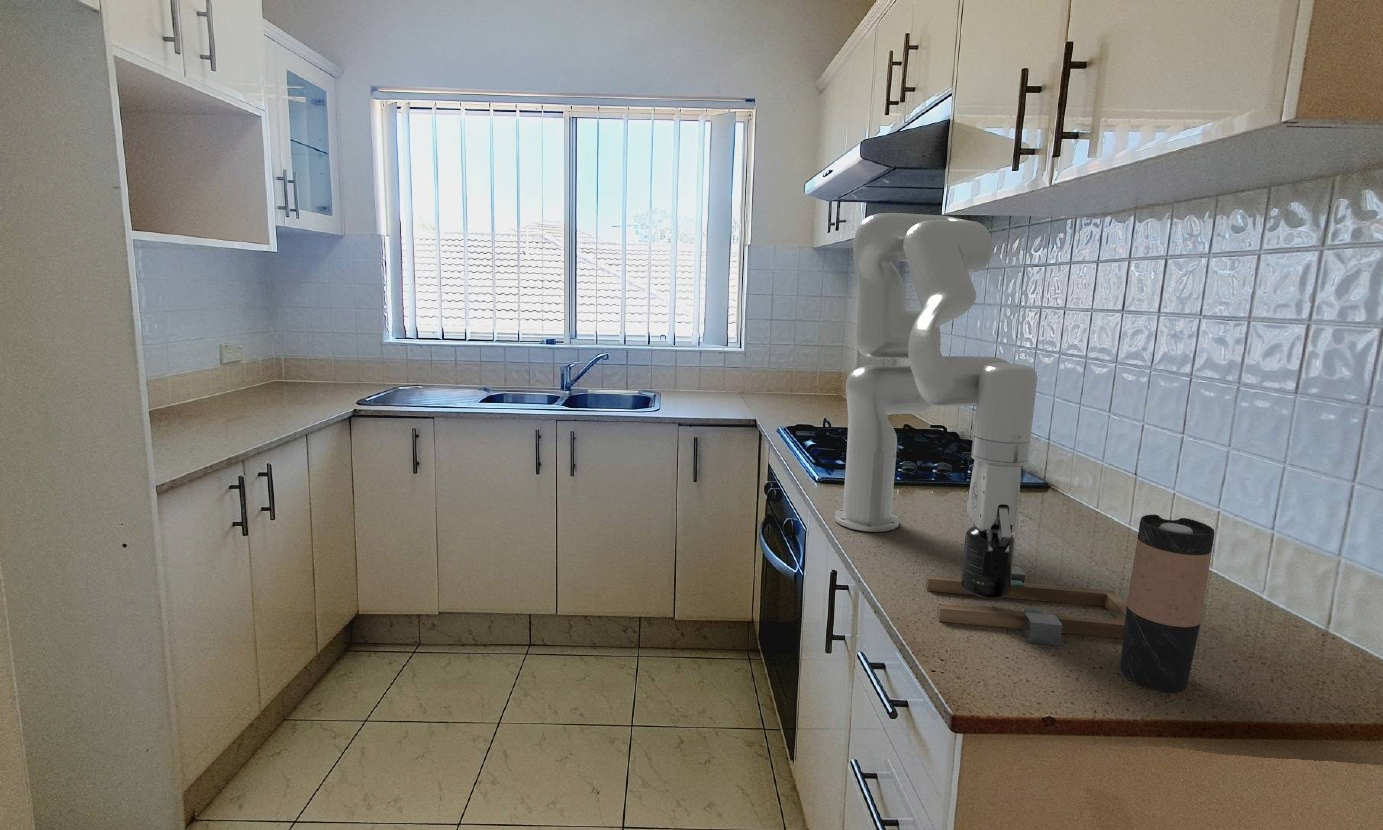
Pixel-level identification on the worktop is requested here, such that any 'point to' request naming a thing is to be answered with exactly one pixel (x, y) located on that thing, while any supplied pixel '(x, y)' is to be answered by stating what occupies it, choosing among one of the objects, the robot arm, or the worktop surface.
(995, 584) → the supplement bottle
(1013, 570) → the pivot blocks
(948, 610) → the walnut rails
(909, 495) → the worktop surface
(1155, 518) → the travel mug
